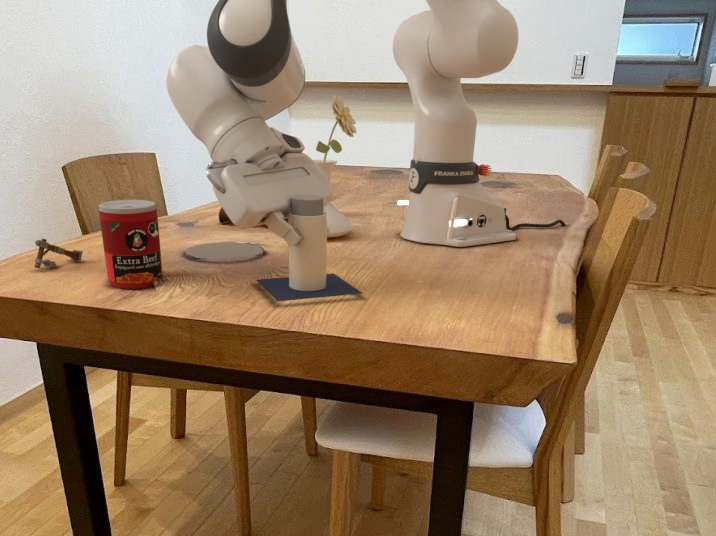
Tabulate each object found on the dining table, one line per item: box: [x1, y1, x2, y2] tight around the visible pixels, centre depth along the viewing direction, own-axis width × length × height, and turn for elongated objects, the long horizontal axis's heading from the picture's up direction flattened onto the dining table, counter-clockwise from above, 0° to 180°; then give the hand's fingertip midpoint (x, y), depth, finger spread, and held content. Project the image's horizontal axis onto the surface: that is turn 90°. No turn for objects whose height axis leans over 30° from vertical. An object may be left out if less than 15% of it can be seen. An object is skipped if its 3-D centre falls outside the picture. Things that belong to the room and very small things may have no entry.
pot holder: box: [255, 272, 363, 302], centre depth 92 cm, size 12×11×1 cm
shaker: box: [288, 195, 328, 291], centre depth 89 cm, size 5×5×12 cm
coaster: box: [185, 241, 264, 261], centre depth 112 cm, size 13×13×1 cm
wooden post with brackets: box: [34, 238, 83, 269], centre depth 102 cm, size 2×8×4 cm, turn 151°
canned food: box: [98, 199, 164, 290], centre depth 93 cm, size 8×8×11 cm
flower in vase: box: [312, 94, 357, 239], centre depth 123 cm, size 13×11×25 cm
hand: (311, 239), depth 89 cm, fingers closed on shaker, 5 cm apart
